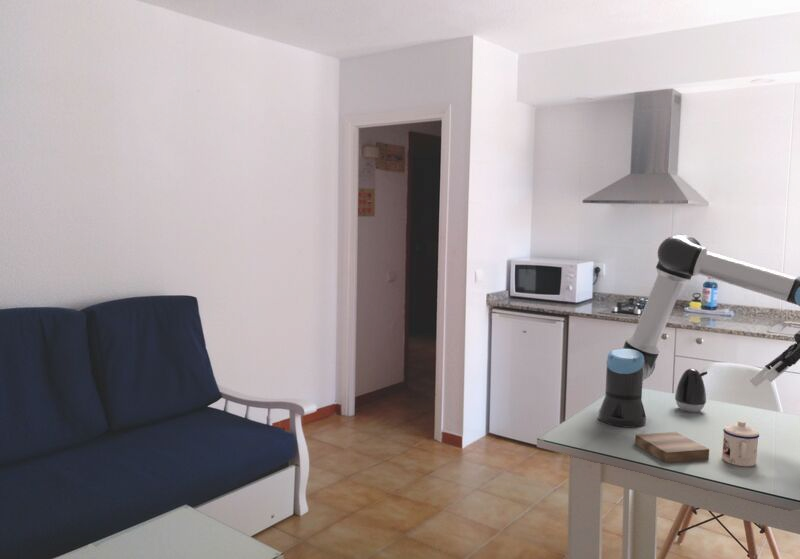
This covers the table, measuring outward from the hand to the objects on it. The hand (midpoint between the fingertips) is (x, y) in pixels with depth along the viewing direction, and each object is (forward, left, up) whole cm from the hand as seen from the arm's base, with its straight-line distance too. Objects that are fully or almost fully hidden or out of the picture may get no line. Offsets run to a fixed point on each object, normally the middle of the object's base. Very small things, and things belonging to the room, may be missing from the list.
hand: (759, 381), depth 198 cm
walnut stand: (-1, -29, -20) cm, 35 cm away
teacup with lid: (+11, -15, -20) cm, 27 cm away
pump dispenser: (-36, +4, -20) cm, 41 cm away
